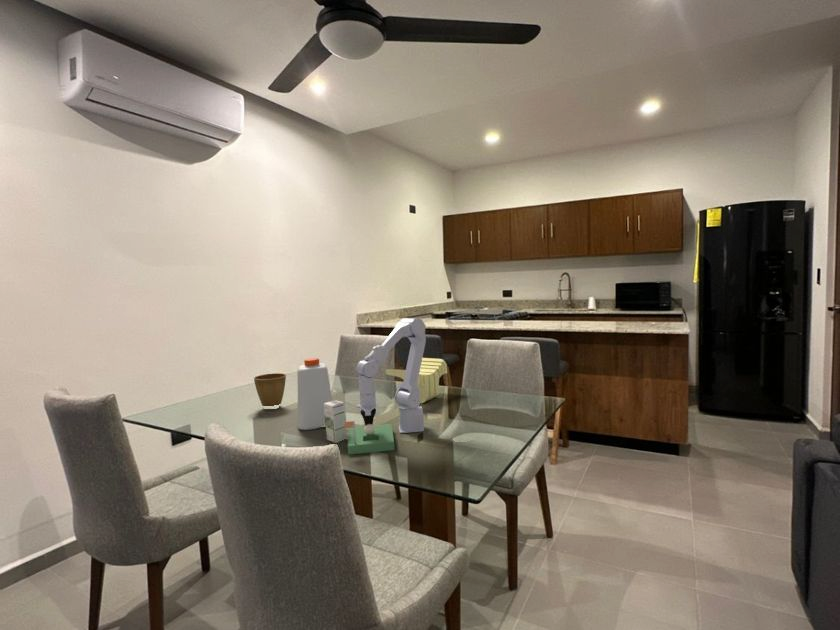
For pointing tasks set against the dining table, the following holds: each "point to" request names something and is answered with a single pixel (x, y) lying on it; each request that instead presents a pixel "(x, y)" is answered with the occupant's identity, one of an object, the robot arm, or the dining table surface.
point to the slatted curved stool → (426, 377)
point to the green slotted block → (369, 439)
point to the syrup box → (335, 421)
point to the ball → (369, 429)
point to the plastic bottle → (312, 394)
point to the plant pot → (270, 388)
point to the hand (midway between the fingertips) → (369, 429)
